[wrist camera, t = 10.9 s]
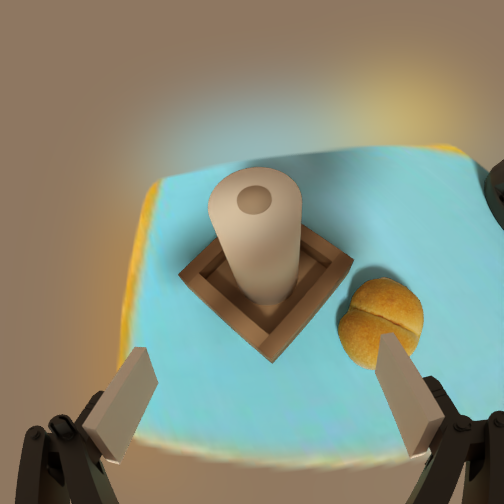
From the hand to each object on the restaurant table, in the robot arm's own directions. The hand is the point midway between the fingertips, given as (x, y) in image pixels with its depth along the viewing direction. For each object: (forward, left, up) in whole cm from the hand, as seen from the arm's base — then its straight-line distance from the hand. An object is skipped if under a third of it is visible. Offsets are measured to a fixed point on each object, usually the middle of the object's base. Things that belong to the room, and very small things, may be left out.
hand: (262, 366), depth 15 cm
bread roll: (-5, -11, -12) cm, 17 cm away
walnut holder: (+7, -7, -12) cm, 15 cm away
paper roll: (+7, -7, -10) cm, 14 cm away
